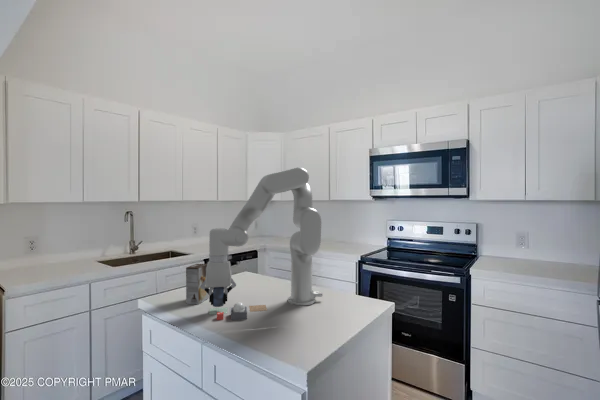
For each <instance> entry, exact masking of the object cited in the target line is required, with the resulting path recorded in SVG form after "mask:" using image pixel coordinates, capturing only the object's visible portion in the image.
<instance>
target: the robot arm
mask: <svg viewBox="0 0 600 400" xmlns="http://www.w3.org/2000/svg"><path fill="white" fill-rule="evenodd" d="M309 178H310V175H309V173H308V170H306V169H305V168H304V167H302V166H301V167H300V166H299V167H294V168H290V169H286V170H283V171H282V170H281V171H279V172H274V173H270V174H269V173H268V174H267V175H264V176H263V177H262V178H260V180H259V182H258V183H257V185H256V187H255V188H254V190H253V192H252V193H251V195H250V197H249V199H248V200H247V201H246V203H245V204H244V206H243V207H242V208H241V210H240V211H239V212H238V214H237V215H236V217H235V218H234V220H233V221H232V223H231V225H230V226H229V227H228V229H227V228H221V227H218V228H212V229H210V231H209V247H208V248H209V251H208V252H209V253H208V256H209V257H208V261H207V262H206V264H207V268H206V279H205V280H204V282H203V283H202V285H201V286H200V288H202V289H203V290H205V291H206V292H207V293H208V294H209V298H208V300H209V303H210V305H211V306H213V288H215V287H224V305H226V302H228V294H229V293H230V292H231V291H232V289H234V288H236V286H237V283H236V282H235V280H234V279H233V278H232V264H231V261H230V260H232V259H233V257H232V256H233V255H229V247H239V248H240V247H243V246H245V245H246V244H247V243H248V241H249V234H248V230H249V228H250V227H251V225H252V224H253V223H254V222H255V221H256V220H257V219H258V218H260V217H261V216H262V215H263V214H264V213H265V211H266V210H267V208H268V207H269V205H270V204H271V202H272V200H273V199H274V197H275V195H276V194H282V193H286V192H289V191H291V192H292V195H293V196H292V197H293V214H292V215H293V216H292V222H293V224H294V225H295V226H296V227H297V228H299V229H300V230H299V231H295V232H294V233H293V234H292V235H291V237H290V239H289V249H290V258H291V259H290V263H291V264H290V272H291V273H290V296H288V297H287V302H288V303H289V304H290V305H294V306H310V305H313V304H315V303H316V298H323V292H321V291H320V292H319V291H313V256H314V255H316V254H317V253H318V252H319V250H320V248H321V242H322V241H321V240H322V218H321V214H320V213H319V211H318V210H317V209H315V208H313V192H312V189H311V186H310V185H309V183H308V182H309ZM205 284H206V286H205Z"/></svg>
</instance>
